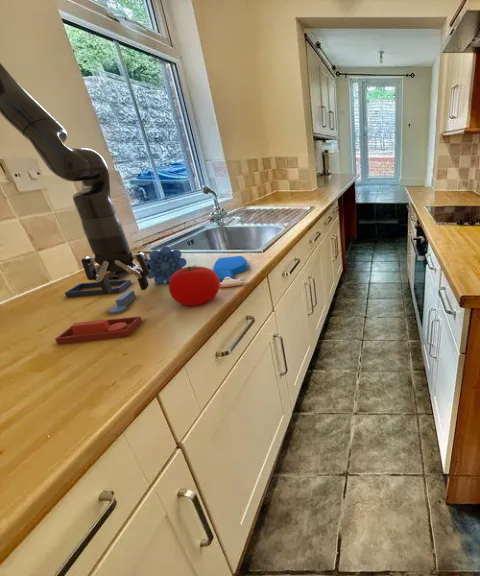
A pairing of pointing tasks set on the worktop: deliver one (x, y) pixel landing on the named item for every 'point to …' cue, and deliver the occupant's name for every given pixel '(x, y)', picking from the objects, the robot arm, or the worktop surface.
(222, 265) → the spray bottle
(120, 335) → the red tray
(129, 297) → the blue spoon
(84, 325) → the red long stepped block
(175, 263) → the blue flower
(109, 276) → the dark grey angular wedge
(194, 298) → the tomato
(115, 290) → the blue tray
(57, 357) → the worktop surface
